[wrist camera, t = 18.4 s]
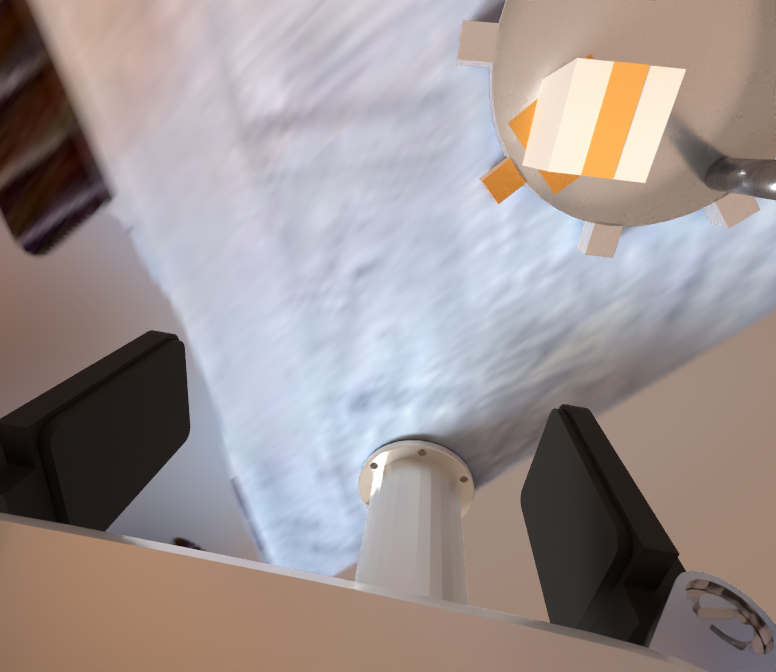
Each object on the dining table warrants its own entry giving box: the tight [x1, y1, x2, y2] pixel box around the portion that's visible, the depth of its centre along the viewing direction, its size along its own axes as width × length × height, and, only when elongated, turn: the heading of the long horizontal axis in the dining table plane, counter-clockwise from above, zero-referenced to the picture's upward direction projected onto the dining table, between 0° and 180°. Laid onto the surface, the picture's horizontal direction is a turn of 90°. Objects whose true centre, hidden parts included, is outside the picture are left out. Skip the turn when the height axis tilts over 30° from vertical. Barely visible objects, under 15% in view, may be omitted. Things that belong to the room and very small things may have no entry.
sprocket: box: [456, 0, 776, 258], centre depth 22 cm, size 24×24×8 cm
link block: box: [522, 58, 686, 183], centre depth 23 cm, size 5×5×7 cm
